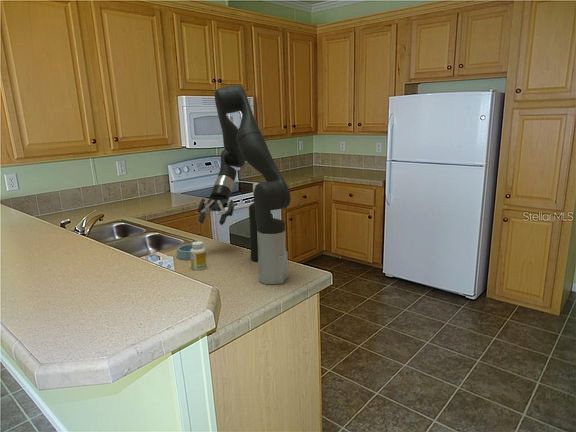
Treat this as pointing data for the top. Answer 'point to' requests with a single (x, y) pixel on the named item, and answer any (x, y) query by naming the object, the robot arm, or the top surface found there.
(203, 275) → the top surface
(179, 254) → the bowl
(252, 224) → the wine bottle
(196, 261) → the supplement bottle
